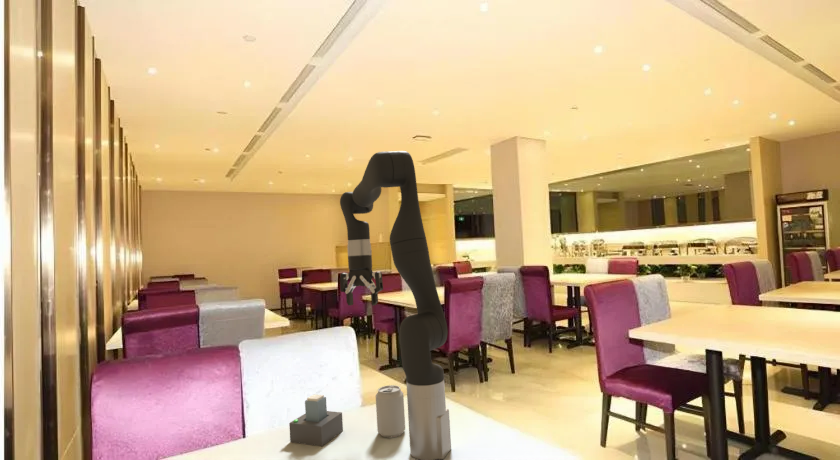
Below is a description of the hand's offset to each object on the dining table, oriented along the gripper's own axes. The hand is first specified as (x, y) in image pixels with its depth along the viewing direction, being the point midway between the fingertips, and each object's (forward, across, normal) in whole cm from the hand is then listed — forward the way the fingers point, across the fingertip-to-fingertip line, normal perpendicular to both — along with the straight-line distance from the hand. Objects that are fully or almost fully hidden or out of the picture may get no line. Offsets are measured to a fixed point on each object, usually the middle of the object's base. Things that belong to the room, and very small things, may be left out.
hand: (362, 305), depth 144 cm
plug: (+31, -3, -23) cm, 39 cm away
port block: (+32, -3, -23) cm, 40 cm away
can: (+32, +16, -16) cm, 39 cm away
